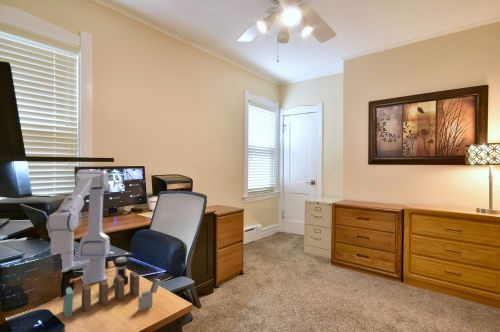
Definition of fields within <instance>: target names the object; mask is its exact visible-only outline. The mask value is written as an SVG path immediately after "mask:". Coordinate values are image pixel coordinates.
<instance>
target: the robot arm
mask: <svg viewBox="0 0 500 332" xmlns="http://www.w3.org/2000/svg"><path fill="white" fill-rule="evenodd" d="M108 189H109V174H108V172H107V171H106V170H104V169H103V170H82V169H79V170H78V171H77V172H76V174H75V187H74V190H73V191H72V193H71V194H69V195H67V196H66V197H65V198H64V199H63V202H61V204H60V206H59V207H58V208H57V210H56V211H55V212H53V213H51V214H49V216H48V218H47V220H46V230H47V231H48V237H49V238H50V255H51V254H55V253H59V254H61V259H62V270H61V272H63V277H62V281H61V296H60V297H59V296H58V298H59V299H60V298H64V297H65V293H66V289H67V288H68V287H69V284H70V282H71V280H72V278H73V276H74V271H76V270H79V269H82V271H83V273H82V275H81V276H79V278H80V279H81V281H82V282H83V283H82V284H85V283H88V284H89V285H92V284H96V283H99V280H102V279H105V280H106V281H107V280H109V278H108V276H107V275H106V274H105V273H106V257H107V255H109V254H110V249H111V242H110V236H109V235H107V234H106V233H105V232H103V214H104V213H103V209H104V192H106V191H108ZM88 194H89V195H88ZM86 195H88V196H89V198H88V218H87V219H88V221H87V222H88V223H87V224H88V225H87V234H85V235H84V236H83V237H82V238H80V243H79V248H78V255H79V256H80V257H81V258H82V260H78V261H77V260H74V242H75V241H74V240H75V239H74V237H75V235H74V234H75V230H76V228H77V227H78V223H79V217H80V216H79V215H80V213H81V211H82V209H83V208H84V205H85V200H84V198H85V197H86Z"/></svg>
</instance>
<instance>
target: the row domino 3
mask: <svg viewBox="0 0 500 332" xmlns="http://www.w3.org/2000/svg"><path fill="white" fill-rule="evenodd" d="M114 278H115V286H114V297H115V299H116V300H117V301H118V302H123V301H125V284H124V279H123V278H122V277H121V276H120V275H118V276H116V275H115V276H114Z"/></svg>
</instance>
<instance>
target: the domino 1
mask: <svg viewBox="0 0 500 332" xmlns="http://www.w3.org/2000/svg"><path fill="white" fill-rule="evenodd" d="M73 303H74V291H73V289H72V287H71V286H70V287H69V286H68V287H67V289H66V293H65V297H63V303H62V312H63V315H64V317H65V319H66V318H70V317H73V316H72V315H73V306H74V305H73Z"/></svg>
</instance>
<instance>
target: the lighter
mask: <svg viewBox="0 0 500 332" xmlns="http://www.w3.org/2000/svg"><path fill="white" fill-rule="evenodd" d="M160 282H161V279H159V278H153V281H152V285H151V287H150V289H149V290H148V289H146V290H144V291H142V294H141V295H140V294H139V296H138V306H137V307H138V311H140V312H143V311H146V310H147V309H149V308H152V307H153V294H156V293H157V291H158V288H159V286H160Z"/></svg>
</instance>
